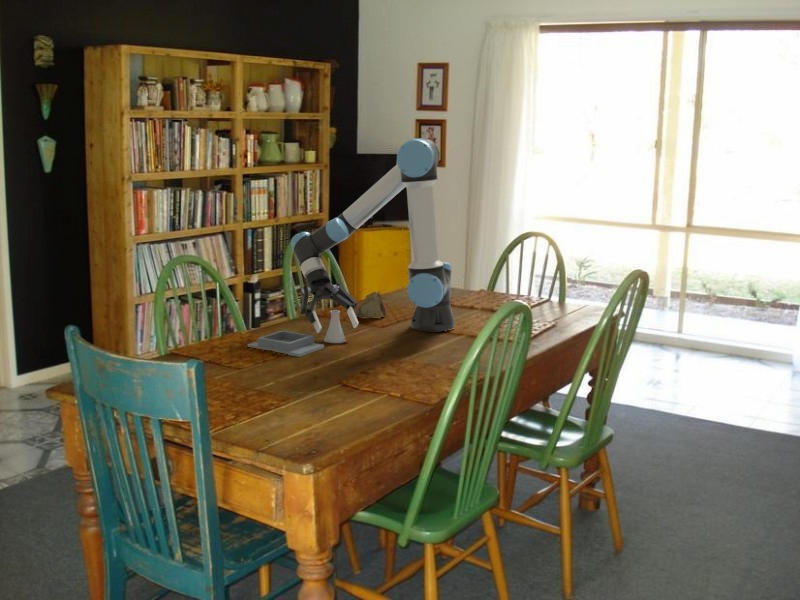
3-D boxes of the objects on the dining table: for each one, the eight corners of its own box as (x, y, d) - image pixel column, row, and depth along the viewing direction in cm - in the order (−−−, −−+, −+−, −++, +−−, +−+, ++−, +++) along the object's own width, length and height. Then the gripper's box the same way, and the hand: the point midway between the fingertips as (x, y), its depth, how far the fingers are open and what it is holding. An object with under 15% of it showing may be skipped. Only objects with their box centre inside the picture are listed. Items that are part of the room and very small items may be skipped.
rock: (348, 313, 327) (373, 312, 322) (353, 291, 330) (378, 290, 326) (362, 326, 335) (386, 325, 331) (366, 305, 339) (390, 304, 335)
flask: (342, 344, 292) (343, 314, 290) (321, 343, 293) (321, 312, 291) (348, 339, 299) (349, 309, 297) (327, 338, 300) (327, 308, 298)
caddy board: (324, 347, 287) (324, 337, 287) (299, 356, 276) (299, 345, 276) (273, 339, 297) (273, 328, 296) (247, 347, 286) (247, 336, 285)
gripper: (344, 277, 312) (366, 329, 303) (277, 284, 298) (299, 339, 289) (352, 264, 307) (375, 317, 297) (285, 270, 293) (307, 325, 284)
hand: (338, 328), depth 293 cm, fingers open, 13 cm apart
